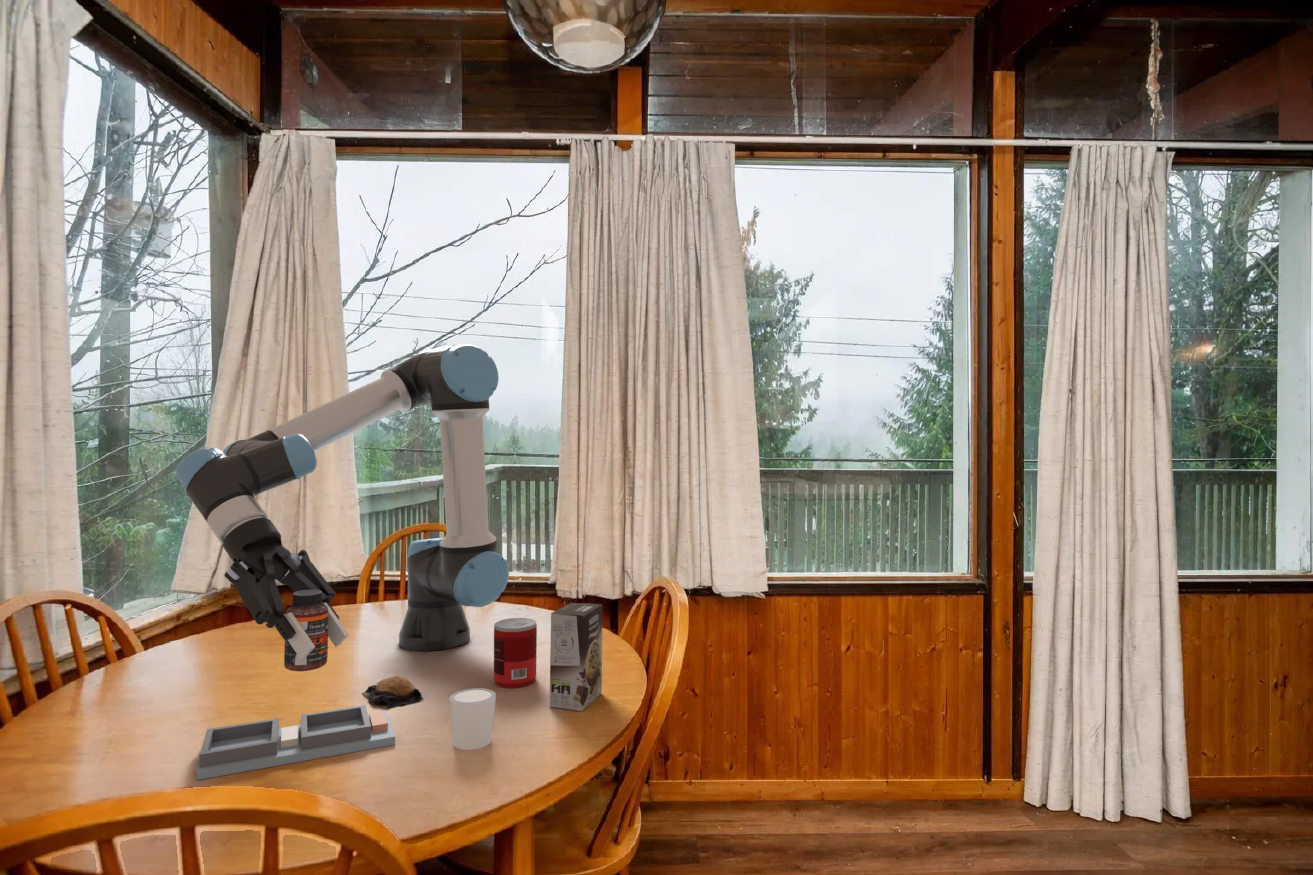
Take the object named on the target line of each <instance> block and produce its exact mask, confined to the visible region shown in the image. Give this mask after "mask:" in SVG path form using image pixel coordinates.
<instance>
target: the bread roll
mask: <svg viewBox="0 0 1313 875" xmlns="http://www.w3.org/2000/svg"><path fill="white" fill-rule="evenodd" d="M361 695H362V696H363V697H364V698H365V699H366V700H367V701H368V702H370V704H372V705H374V706H376V707H377V708H379V709H380V708H382V709H383V708H387V710H389V709H395V708H399V707H403V706H409V705H412V704H416V703H419V702H422V701H424V697H422V693H421V691H420V690H419V689H417V688H416V687H415V686H414V684H412V682H411V681H410V680H409V679H407V678H405V677H402V676H397V675H395V676H390V677H387V678H384V679H382V680H380V681H378V682H377V683H376V684H373V685H370V686H368V687H367V689H366V690H365V691H363V692H362V693H361Z"/></svg>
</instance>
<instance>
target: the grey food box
mask: <svg viewBox="0 0 1313 875" xmlns="http://www.w3.org/2000/svg"><path fill="white" fill-rule="evenodd" d="M549 650H550V651H549V653H550V655H549V657H550V659H549V661H550V662H549V664H550V665H549V666H550V668H549V670H550V672H549V708H556V709H564V710H570V711H576V712H583V711H584V710H585V709H586V708H587V707H588V706H590V705H591V704H592V703H593V702H594V701H595V700H596V699H597V698H598V697H599V696H600V695H601V694H602V692H603V690H602V689H603V687H602V686H603V684H602V683H603V679H602V678H603V604H601V603H588V602H587V603H584V602H583V603H581V602H580V603H579V602H578V603H577V602H570V603H568V604H566V605H565V606H562V607H561V608H558V609H556V610H555V611H553V612H551V613H550V649H549Z"/></svg>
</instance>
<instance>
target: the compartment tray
mask: <svg viewBox="0 0 1313 875" xmlns="http://www.w3.org/2000/svg"><path fill="white" fill-rule="evenodd" d="M279 719H280V718H279V717H278V718H273V719H272V718H271V719H265V720H258V721H251V722H244V723H238V724H231V725H223V726H219V727H211V728H207V729H206V732H205V735H204V738H203V742H202V746H201V749H200V751H199V756H198V757H199V758H198V759H199V760H198V763H197V765H196V766H197V767H196V770H195V781H199V780H204V779H205V780H206V779H212V778H216V777H217V778H218V777H221V776H227V775H235V774H239V773H244V772H250V771H257V770H261V769H267V768H271V767H279V766H283V765H290V764H294V763H300V762H305V761H310V760H317V759H322V758H327V757H328V758H329V757H334V756H338V755H339V756H340V755H345V754H349V753H356V752H362V751H366V750H367V751H368V750H372V749H379V748H384V747H389V746H395V745H396V735H395V731H394V729H393V726H392V725H393V724H392V723H391V719H390V717H389V713H388V711H387V710H382V711H377V712H371V713H368V709H367V705H366V704H363V705H356V706H351V707H343V708H335V709H331V710H324V711H323V710H322V711H316V712H310V713H304V714H301V715H300V724H294V725H289V726H283V727H279V726H280V724H279V723H280V720H279Z"/></svg>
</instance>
